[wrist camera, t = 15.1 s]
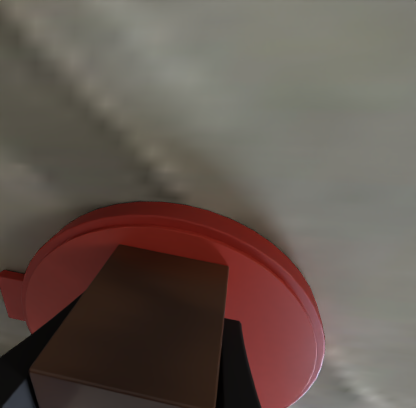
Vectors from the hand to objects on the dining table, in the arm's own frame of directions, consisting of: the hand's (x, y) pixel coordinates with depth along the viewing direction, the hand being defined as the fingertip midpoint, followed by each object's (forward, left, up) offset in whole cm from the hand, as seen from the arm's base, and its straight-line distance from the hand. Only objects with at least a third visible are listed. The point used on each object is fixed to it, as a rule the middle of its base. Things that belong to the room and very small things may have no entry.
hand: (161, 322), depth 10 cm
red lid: (-2, -3, -3) cm, 5 cm away
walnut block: (0, 0, -1) cm, 1 cm away
